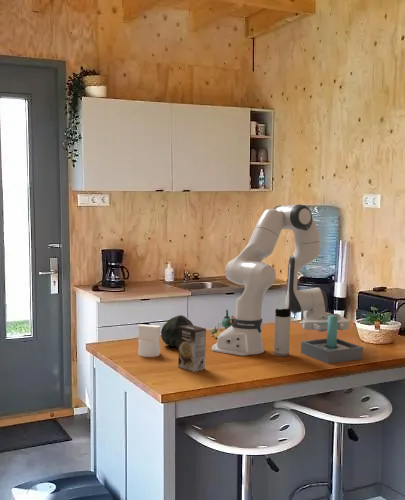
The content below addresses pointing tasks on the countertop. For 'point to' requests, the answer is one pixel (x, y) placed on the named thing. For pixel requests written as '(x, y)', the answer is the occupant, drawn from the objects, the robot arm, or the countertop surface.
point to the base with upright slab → (149, 340)
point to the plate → (324, 346)
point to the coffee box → (192, 347)
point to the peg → (332, 331)
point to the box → (331, 351)
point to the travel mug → (282, 332)
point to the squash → (173, 330)
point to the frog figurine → (225, 324)
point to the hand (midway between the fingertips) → (331, 328)
